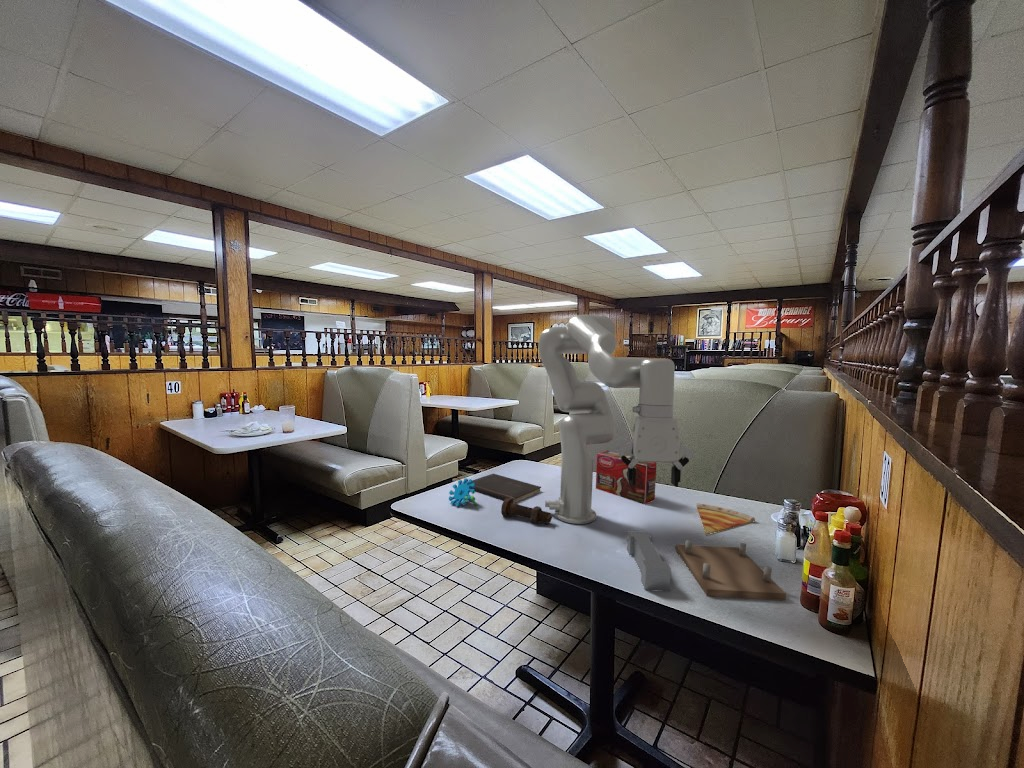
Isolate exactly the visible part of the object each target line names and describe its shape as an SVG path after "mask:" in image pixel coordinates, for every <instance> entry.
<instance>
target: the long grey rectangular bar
mask: <svg viewBox="0 0 1024 768" xmlns="http://www.w3.org/2000/svg"><path fill="white" fill-rule="evenodd" d="M626 539H627V541H626V542H627V543H626V551H627V553H628V555H629V556H630V555H633V556H632V557H633V560H634V561H636V562H635V564H636V563H637V564H636V566H637V565H638V566H637V568H638V567H639V568H638V570H639V569H640V570H639V572H641V573H640V574H641V577H640V579H641V580H640V583H641V582H642V583H641V584H643V585H642V587H643V586H644V587H643V589H644V591H652V590H662V591H661V592H670V590H671V589H670V588H671V572H672V570H671V567H670V565H669V564H668V561H665V560H664V561H663V560H662V558H661V556H660V555H659V552H658V551H657V550H656V548H655V546H654V545H653V543H652V542H653V538H652V536H651V534H650V532H649V531H641V530H638V531H637V530H627V537H626Z"/></svg>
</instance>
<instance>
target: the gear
mask: <svg viewBox="0 0 1024 768" xmlns="http://www.w3.org/2000/svg"><path fill="white" fill-rule="evenodd" d="M472 480H473V479H472V478H469V479H468V478H467V477H465V478H464V479H463V480H462V479H459V480H458V481H457V483H458V484H453V485H452V488H453V489H454V491H453V490H452V489H451V490H450V491H449V492H448V494H449V495H450V496H449V497H448V501H450V504H451V505H452V506H456V507H460V506H461V504H462V506H463V505H464V506H465V505H467V502H469V503H471V504H474V505H475V506H477V505H478V503H477V502H476V497H474V496H473V495H474V494H475V493H476V492H475V490H474V489H470V488H471V487H473V488H475V483H473V481H472ZM466 482H467V483H466ZM471 483H472V484H471ZM469 484H471V485H469ZM470 493H471V494H473V495H470ZM452 495H453V496H452Z"/></svg>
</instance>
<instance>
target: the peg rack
mask: <svg viewBox="0 0 1024 768" xmlns="http://www.w3.org/2000/svg"><path fill="white" fill-rule="evenodd" d="M675 551H676V553H677V552H678V553H677V554H678V556H679V555H680V556H679V557H680V558H682V559H681V561H682V562H683V561H684V562H683V564H684V565H685V564H686V565H685V566H686V567H688V568H689V569H688V568H687V569H688V571H689V572H690V571H691V572H690V573H691V575H692V574H693V575H692V577H693V578H694V577H695V578H694V580H695V581H696V582H697V584H698V585H699V586H700V589H701V590H702V591H703V592H704V593H705V595H706V597H718V598H723V597H724V598H735V599H736V598H738V599H753V600H754V599H755V600H756V599H757V600H772V601H773V600H774V601H786V599H787V593H786V591H784V589H782V588H781V587H780V586H779V584H777V583H776V582H775V581H774V580H773V579H772V571H773V570H772V567H770V566H767V565H765V566H764V567H763V568H762V567H760V566H759V565H758V564H757V563H756V562H755V561H754V560H753V559H752V558H751V557H750V556H749V555H748V554H747V544H746V543H744V542H740V543H739V547H737V546H736V547H734V546H722V545H721V546H720V545H719V546H717V545H701V544H700V545H699V544H697V545H696V544H693V542H692V541H691V540H689V539H686V540H685V544H679V543H678V544H677V543H676V544H675Z"/></svg>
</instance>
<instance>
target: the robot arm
mask: <svg viewBox="0 0 1024 768" xmlns="http://www.w3.org/2000/svg"><path fill="white" fill-rule="evenodd" d="M615 335H616V325H615V322H614V321H613V320H612V318H610V317H608V316H607V315H599V314H597V315H596V314H577V315H575V316H573V317H571V318H569V320H568V322H567V325H566V326H554V327H553V326H552V327H548V328H545V329H544V330H542V332H541V333H540V335H539V337H538V342H537V345H538V346H537V347H538V354H539V355H538V356H539V358H540V361H541V363H542V365H543V367H544V368H545V371H546V373H547V375H548V379H549V382H550V386H551V389H552V393H553V396H554V397H553V398H554V399H555V400H554V401H555V403H556V406H557V408H558V409H559V410H560V411H561V412H564V413H572V414H567V415H566V416H564V417H563V418H562V419H561V420H560V422H559V425H558V431H559V439H560V446H561V447H560V448H561V449H560V450H561V463H560V467H561V468H560V469H561V470H560V491H559V492H560V494H559V495H560V497H558V499H555V501H553V500H552V501H551V500H544V502H545V503H544V506H545V508H549V510H554V516H555V518H557V520H560V521H562V522H564V523H565V522H566V523H567V524H576V525H577V524H578V525H583V524H584V525H586V524H589V523H592V522H594V521H595V520H596V519H597V512H596V511H595V510H594V509H593V508H592V498H593V478H594V477H593V476H594V475H593V474H594V473H593V472H594V459H593V456H592V454H591V451H590V450H589V449H588V446H592V445H599V444H606V443H607V444H608V443H609V442H611V441H612V440H613V439H614V437H615V436H616V432H617V431H616V424H615V420H614V416H613V413H612V410H611V407H610V405H609V402H608V398H607V395H606V393H605V390H604V389H603V387H602V386H601V385H600V384H599V383H597V382H595V381H580V380H579V378H578V377H577V374H576V370H575V367H573V365H572V363H571V362H570V361H569V359H567V358H566V357H565V356H564V355H563V354H565V355H566V354H567V355H568V354H569V355H583V354H586V355H587V363H588V367H589V370H590V372H591V373H592V375H593V376H595V378H596V379H597V380H598V381H600V383H602V384H603V385H605V386H606V387H609V388H611V389H639V395H638V398H639V399H638V404H637V405H636V406H632V413H636V414H637V416H636V417H635V418H634V419H635V420H634V424H633V429H632V436H631V440H630V441H628V442H626V443H624V444H622V445H620V446H618V447H616V453H618V454H619V456H620V458H621V459H622V461H623V462H624V463H625V464H626V465H627V466H628V477H627V478H628V481H630V483H631V484H632V485H635V483H636V469H635V468H634V466H635V465H636V464H637V463H638V462H639V461H641V462H657V463H670V464H672V466H671V470H670V471H671V473H670V476H671V477H670V483H671V484H672V486H673V487H676V488H677V487H679V483H680V482H681V475H682V474H681V473H682V472H681V471H682V470H683V469H684V466H686V465H687V464H688V463H689V462H690V459H691V458H692V456H693V455H694V450H693V449H691V448H689V447H687V446H685V445H683V444H681V443H680V434H679V432H680V431H679V424H678V420H677V419H678V418H675V417H674V393H675V392H674V391H675V368H676V367H675V363H674V361H673V360H672V359H669V358H649V357H648V358H647V357H632V356H631V357H628V356H626V357H625V356H619V357H618V356H614V355H613V353H614V352H615V350H616V349H617V345H618V344H617V337H616V336H615ZM628 450H630V452H631V453H630V454H631V455H630V456H631V457H630V458H629V459H628V458H627V457H626V456H625V455H626V453H625V452H626V451H628ZM680 451H682V452H683V456H682V457H680V453H681V452H680Z"/></svg>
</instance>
